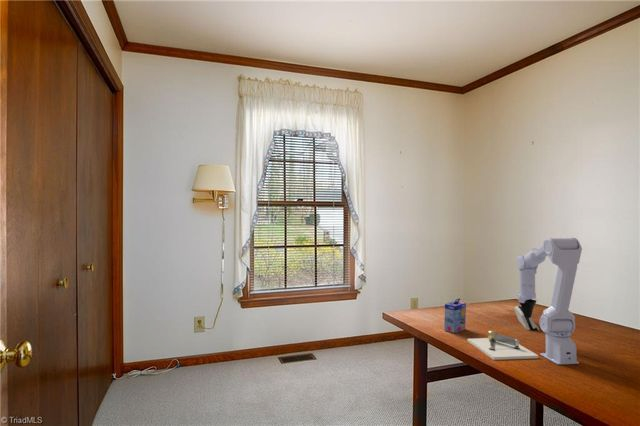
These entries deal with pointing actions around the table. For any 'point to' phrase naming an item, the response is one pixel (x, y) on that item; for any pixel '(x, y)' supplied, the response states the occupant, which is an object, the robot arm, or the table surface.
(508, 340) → the divider leg
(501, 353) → the plate
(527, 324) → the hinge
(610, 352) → the table surface
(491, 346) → the divider fixed leg
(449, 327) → the ink cartridge box
